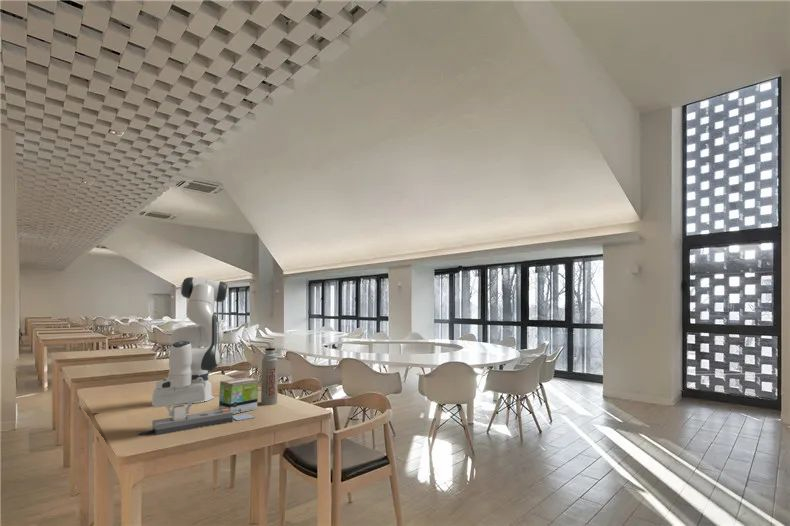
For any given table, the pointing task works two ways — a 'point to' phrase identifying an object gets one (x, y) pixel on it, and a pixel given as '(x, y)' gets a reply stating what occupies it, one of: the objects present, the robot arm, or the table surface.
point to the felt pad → (243, 417)
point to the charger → (179, 412)
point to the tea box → (238, 395)
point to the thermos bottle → (269, 377)
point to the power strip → (190, 422)
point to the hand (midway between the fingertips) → (178, 414)
